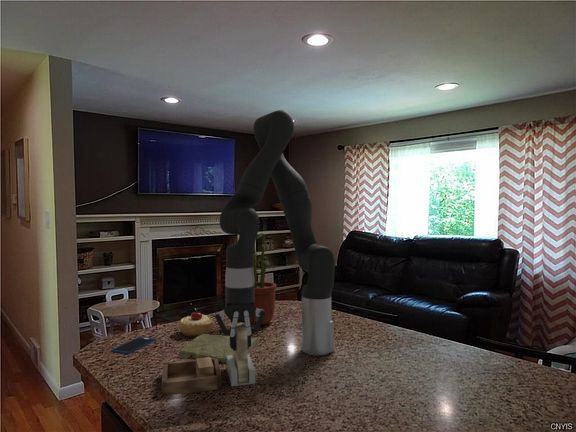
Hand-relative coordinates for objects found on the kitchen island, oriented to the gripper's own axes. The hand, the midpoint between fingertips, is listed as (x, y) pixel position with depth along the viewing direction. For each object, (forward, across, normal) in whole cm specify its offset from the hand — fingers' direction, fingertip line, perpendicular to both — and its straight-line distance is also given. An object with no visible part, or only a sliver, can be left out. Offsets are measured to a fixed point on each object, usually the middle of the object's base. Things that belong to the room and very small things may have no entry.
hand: (240, 348), depth 104 cm
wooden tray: (+8, +12, 0) cm, 15 cm away
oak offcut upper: (+5, +9, 0) cm, 10 cm away
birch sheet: (+7, 0, 0) cm, 7 cm away
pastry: (+8, +10, -42) cm, 44 cm away
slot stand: (+8, 0, 0) cm, 8 cm away
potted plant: (+8, -12, -48) cm, 50 cm away
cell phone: (+9, +30, -34) cm, 46 cm away
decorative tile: (+9, +4, -20) cm, 22 cm away
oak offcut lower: (+7, +9, 0) cm, 12 cm away
